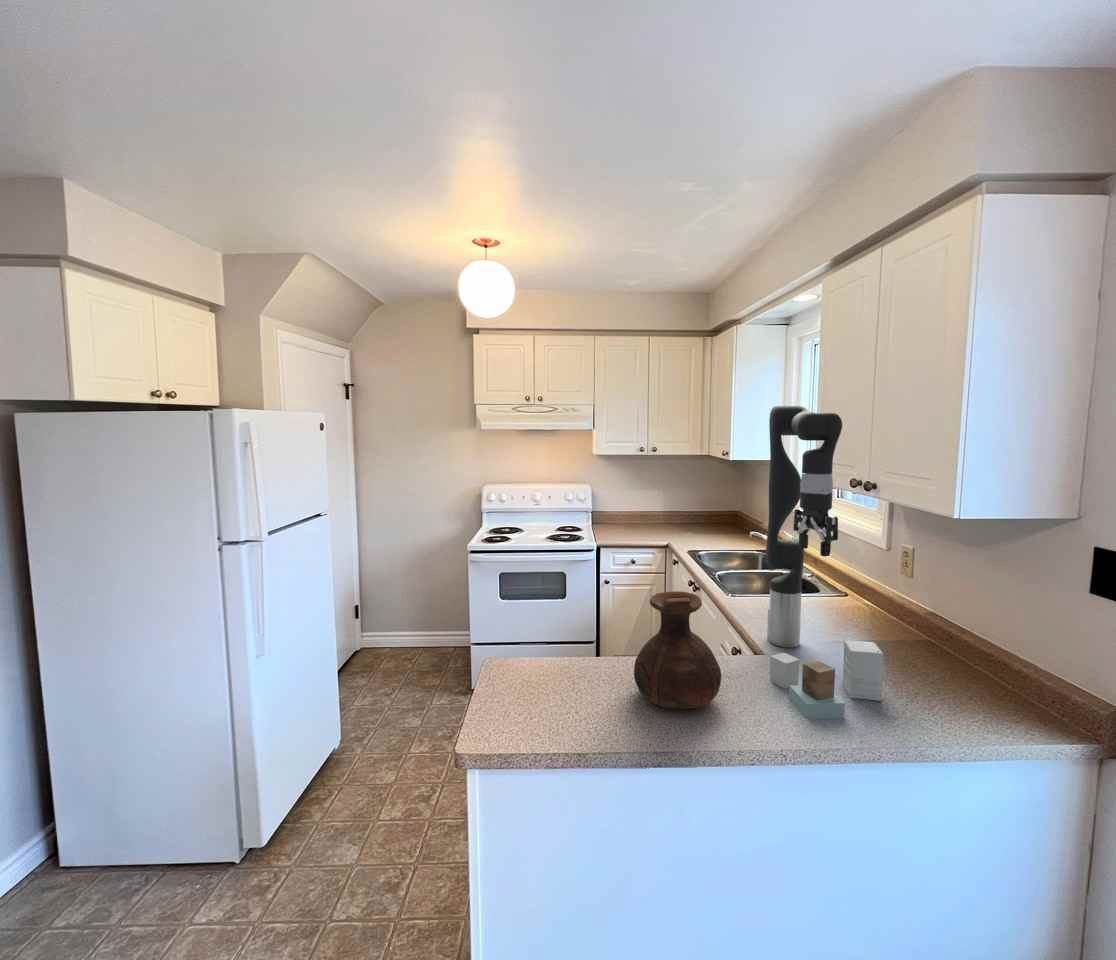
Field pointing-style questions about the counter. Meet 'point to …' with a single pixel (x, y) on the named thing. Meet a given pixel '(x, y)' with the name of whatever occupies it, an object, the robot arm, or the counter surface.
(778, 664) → the grey block
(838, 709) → the pedestal block
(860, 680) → the supplement box
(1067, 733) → the counter surface
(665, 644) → the brown vase
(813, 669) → the walnut block
